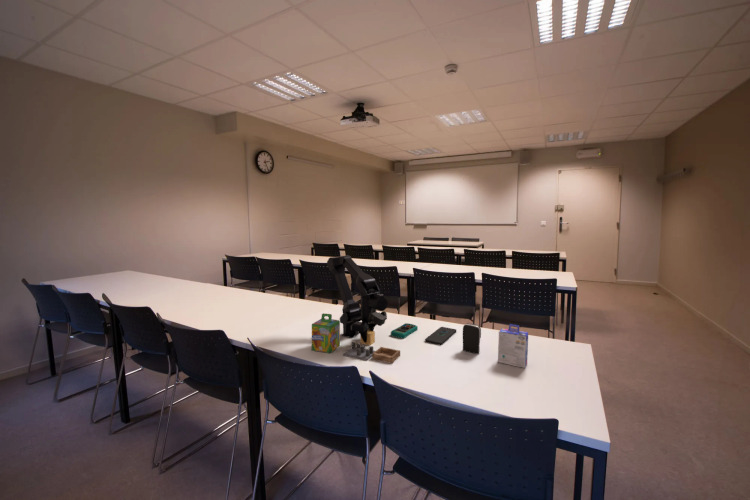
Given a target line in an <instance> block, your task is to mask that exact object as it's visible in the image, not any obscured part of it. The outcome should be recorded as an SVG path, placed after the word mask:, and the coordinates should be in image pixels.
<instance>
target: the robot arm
mask: <svg viewBox="0 0 750 500" xmlns="http://www.w3.org/2000/svg"><path fill="white" fill-rule="evenodd" d="M326 265H327V267H328V270H329V271H330V273H331V274H332V275H333V276H334V278H335V281H336V284H337V287H338V290H339V293H340V296H341V300H342V302H343V305H342V314H341V315H340V316H339V321H340V324H342V330H343V331H342V333H340V337H341V336H342V337H347V338H350V339H351V338H354V337H356V336H358V335H361V337H362V339H363V341H364V342H367V334H368V331H369V330H370V331H374V329H375V327H376V326H379V327H381V326H383V325H384V324H385V323H386V320H388V316H387V312H386V311H385V310H386V309H387V307H388V304H389V303H388V299H386V297H385V294H383V293H381V289H380V288H379V285H378V283H377V281H376V279H375V278H374V277H373V276H371V274H369V273H366V272H364V271H363V270H362V268H361V267H359V266H358V264H357V263H356V262H355V261H354V260H353V258H352V256H350V255H340V256H333V257H332V256H331V257H329V258H328V259H327V261H326ZM346 270H347V272H349V274H350V275H351V276H352V277H353V279H354V280H355V285H356V287H357V289H358V290H359V292H358V293H357V295H359V296H360V302H359V301H357V302H356V301H355V299H354V297H353V293H352V290H351V288H350V285H349V281H348V279H347V276H346V275H347V274H346ZM377 311H379V312H377Z"/></svg>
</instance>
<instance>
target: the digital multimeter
mask: <svg viewBox="0 0 750 500" xmlns="http://www.w3.org/2000/svg"><path fill="white" fill-rule="evenodd" d="M418 329H419V328H418V325H416V324H413V323H407V322H406V323H403V324H402V325H400V326H398V327H397V328H394V329H393V330H391V331H390V336H391V337H394V338H398V339H406V338H407V337H408V336H410V335H412V334H413V333H415V332H417V331H418Z"/></svg>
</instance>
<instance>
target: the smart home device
mask: <svg viewBox="0 0 750 500" xmlns="http://www.w3.org/2000/svg"><path fill="white" fill-rule="evenodd" d="M456 333H457V329H456V328H451V327H446V326H445V327H444V326H440V327H438V329H436V330H435V331H434V332H432V333H431V334H429V336H427V337H426V338H424V342H425V343H429V344H434V345H438V346H442V345H444V344H445V343H446V342H448V340H449V339H450V338H452V337H453V336H454V335H455V334H456Z"/></svg>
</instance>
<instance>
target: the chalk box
mask: <svg viewBox="0 0 750 500" xmlns="http://www.w3.org/2000/svg"><path fill="white" fill-rule="evenodd" d="M325 317H326V318H325ZM340 346H341V323H340V319H333V315H332V314H331V313H321V318H320V319H318V320H316V321H315V322H313V323H312V324H311V351H314V352H321V353H327V354H331V353H333V352H334V351H335V350H337V348H339V347H340Z"/></svg>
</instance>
